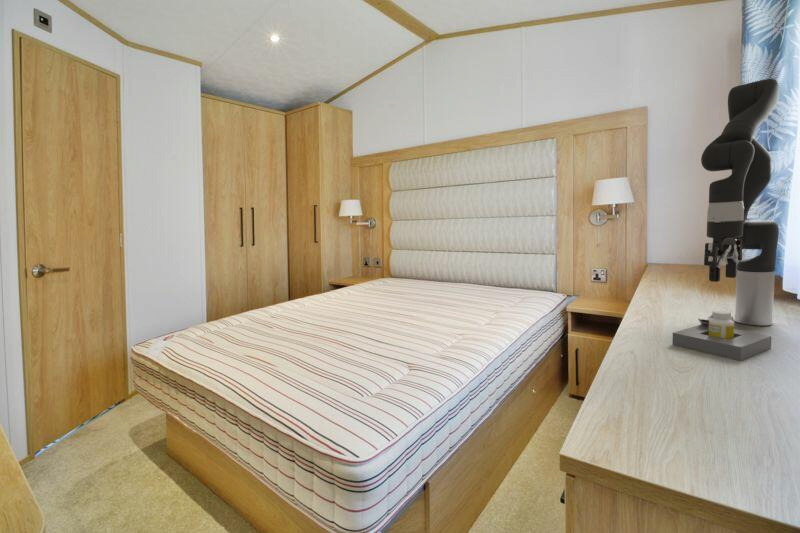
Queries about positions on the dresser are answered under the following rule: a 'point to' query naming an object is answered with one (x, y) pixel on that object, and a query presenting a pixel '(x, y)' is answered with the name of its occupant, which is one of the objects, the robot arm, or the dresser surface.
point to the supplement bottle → (721, 325)
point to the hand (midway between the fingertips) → (722, 279)
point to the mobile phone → (708, 320)
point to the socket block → (722, 342)
